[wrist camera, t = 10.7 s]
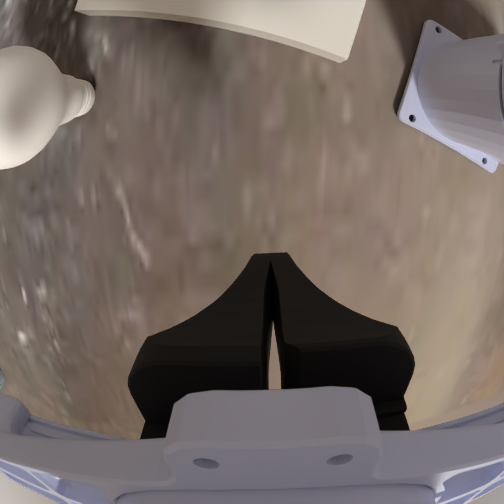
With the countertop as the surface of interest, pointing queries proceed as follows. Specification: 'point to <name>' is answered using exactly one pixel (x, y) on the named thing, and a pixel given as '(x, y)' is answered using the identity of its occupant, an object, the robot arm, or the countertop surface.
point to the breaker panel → (254, 19)
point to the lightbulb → (35, 102)
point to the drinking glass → (1, 379)
